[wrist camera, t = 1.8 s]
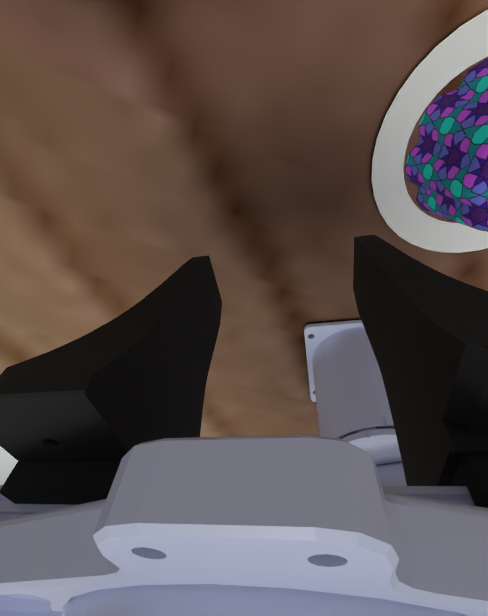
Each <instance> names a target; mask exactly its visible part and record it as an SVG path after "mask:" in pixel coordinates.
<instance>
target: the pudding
mask: <svg viewBox="0 0 488 616" xmlns="http://www.w3.org/2000/svg"><path fill="white" fill-rule="evenodd" d="M485 57H488V10H486V11H484V12H483V13H481V14H480V15H478V16H476V17H475V18H473V19H471V20H470V21H468V22H467V23H465V24H463V25H462V26H460V27H459V28H458V29H457V30H456V31H454V32H453V33H452V34H451V35H449V36H448V37H447V38H446V39H445V40H443V41H442V42H441V43H440V44H438V45H437V46H436V47H435V48H434V49H433V50H432V51H431V52H430V54H429V55H428V56H427V57H426V58H425V59H424V60H423V61H422V62H421V63H420V64H419V65H418V66H417V67H416V68H415V70H414V71H413V72H412V74H411V75H410V77H409V78H408V79H407V81H406V82H405V84H404V85H403V86H402V88H401V89H400V90H399V92H398V93H397V95H396V97H395V99H394V101H393V103H392V105H391V106H390V108H389V110H388V112H387V114H386V116H385V118H384V121H383V124H382V126H381V129H380V131H379V134H378V137H377V140H376V145H375V150H374V154H373V159H372V186H373V193H374V198H375V201H376V204H377V206H378V209H379V212H380V214H381V215H382V217H383V218H384V220H385V221H386V223H387V225H388V226H389V227H390V228H391V229H392V230H393V231H394V232H395V233H396V234H397V235H398V236H400V237H401V238H403V239H404V240H406V241H408V242H409V243H411V244H413V245H416V246H418V247H421V248H424V249H427V250H432V251H438V252H452V253H461V252H469V251H477V250H482V249H486V248H488V59H485V60H484V61H482V62H481V63H479V64H478V65H476V66H475V67H473V68H472V69H471V70H469V71H468V73H467V74H466V76H465V78H464V79H463V81H462V83H461V84H460V86H459V88H458V89H457V90H456V91H453V92H450V93H447V94H444V95H441V96H439V97H438V98H437V99H436V100H435V101H434V102H433V103H432V104H431V105H430V106H429V107H428V108H427V110H426V111H425V113H424V116H423V118H422V120H421V122H420V124H419V134H420V142H419V143H418V144H417V145H416V146H415V147H414V149H413V150H412V151H411V152H410V153H409V154H408V158H407V163H406V167H405V169H406V173H407V178H408V180H409V181H410V182H412V183H414V184H415V185H417V186H418V187H419V188H418V194H417V202H418V203H419V205H420V206H421V208H422V209H423V210H426V211H428V212H430V213H432V214H435V215H437V216H440V217H443V218H446V219H449V220H451V221H454V222H457V223H450V222H445V221H440V220H437V219H435V218H432V217H430V216H428V215H427V214H425V213H424V212H422V211H421V210H420V209H419V208H418V207H417V206H416V205H415V204H414V203H413V201H412V199H411V198H410V196H409V194H408V192H407V189H406V185H405V182H404V171H403V166H404V157H405V152H406V148H407V144H408V141H409V138H410V136H411V133H412V131H413V129H414V127H415V124H416V123H417V121H418V119H419V118H420V116H421V114H422V113H423V111H424V110H425V108H426V107H427V106H428V104H429V103H430V102H431V101H432V99H433V98H434V97H435V96H436V94H437V93H438V92H439V91H440V90H441V89H442V88H443V87H444V86H445V85H446V84H447V83H449V82H450V81H451V80H452V79H453V78H454V77H456V76H457V75H458V74H460V73H461V72H462V71H464V70H465V69H466V68H468V67H469V66H471V65H473V64H475V63H476V62H478V61H480V60H482V59H483V58H485Z"/></svg>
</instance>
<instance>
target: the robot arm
mask: <svg viewBox="0 0 488 616" xmlns="http://www.w3.org/2000/svg"><path fill="white" fill-rule="evenodd" d="M353 289H354V294H355V299H356V303H357V308H358V312H359V315H360V318H361V320H352V321H340V322H329V323H317V324H308V325H306V326H305V327H304V336H305V346H306V356H307V366H308V376H309V386H310V396H311V400H312V401H313V402H316V404H317V414H318V423H319V432H320V436H315V435H273V436H234V437H200V429H201V419H202V410H203V402H204V394H205V386H206V381H207V376H208V371H209V367H210V363H211V359H212V355H213V351H214V347H215V343H216V339H217V335H218V330H219V326H220V318H221V307H222V300H221V297H220V293H219V289H218V286H217V282H216V279H215V275H214V272H213V268H212V265H211V261H210V257H209V256H201V257H194V258H191V259H190V260H189V261H187V262H186V263H185V264H184V265H182V266H181V267H180V268H179V269H178V270H177V271H176V272H175V273H173V274H172V275H171V276H170V277H169V278H168V279H167V280H166V281H164V282H163V283H162V284H161V285H160V286H159V287H157V288H156V289H155V290H154V291H152V292H151V293H150V294H149V295H147V296H146V297H145V298H144V299H143V300H141V301H140V302H139V303H137V304H136V305H135V306H133V307H132V308H130V309H129V310H127V311H126V312H124V313H123V314H121V315H120V316H118V317H117V318H115V319H113V320H112V321H110V322H108V323H106V324H105V325H103V326H101V327H99V328H97V329H96V330H94V331H92V332H90V333H88V334H87V335H85V336H83V337H81V338H78V339H76V340H74V341H72V342H70V343H68V344H66V345H63V346H61V347H59V348H57V349H54V350H52V351H50V352H47V353H45V354H42V355H39V356H37V357H34V358H31V359H29V360H26V361H23V362H21V363H18V364H15V365H13V366H10V367H7V368H6V369H5V370H4V371H3V373H2V374H1V375H0V446H1V447H2V448H4V449H5V450H6V451H7V452H8V453H10V454H11V455H12V456H13V457H14V458H15V459H17V460H19V461H18V463H17V464H16V466H15V467H14V469H13V470H12V472H11V474H10V475H9V477H8V478H7V480H6V482H5V483H4V485H0V616H488V291H486V290H483V289H480V288H477V287H474V286H471V285H469V284H466V283H464V282H461V281H459V280H456V279H454V278H451V277H449V276H446V275H444V274H442V273H440V272H438V271H436V270H434V269H432V268H430V267H428V266H426V265H424V264H422V263H420V262H419V261H417V260H415V259H413V258H411V257H410V256H408V255H406V254H405V253H403V252H401V251H400V250H398V249H397V248H395V247H393V246H392V245H390V244H389V243H387V242H386V241H384V240H382V239H381V238H379V237H378V236H376V235H367V236H360V237H354V281H353ZM309 334H313V335H311V336H310V335H309Z"/></svg>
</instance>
